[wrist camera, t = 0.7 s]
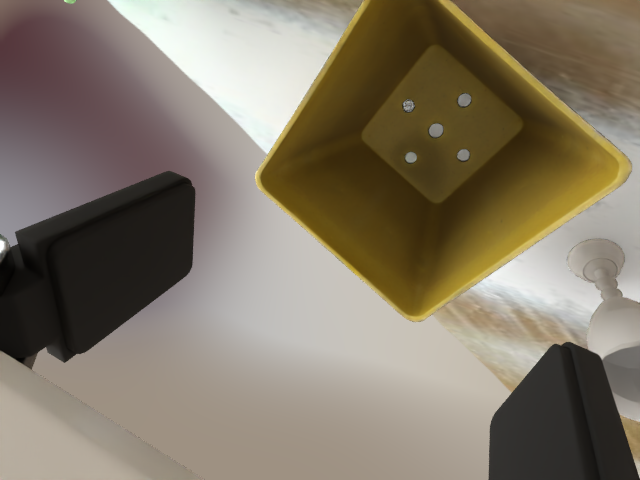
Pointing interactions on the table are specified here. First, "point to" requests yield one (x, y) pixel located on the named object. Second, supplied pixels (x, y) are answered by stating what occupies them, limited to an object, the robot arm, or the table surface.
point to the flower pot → (432, 156)
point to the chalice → (612, 321)
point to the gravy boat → (70, 1)
